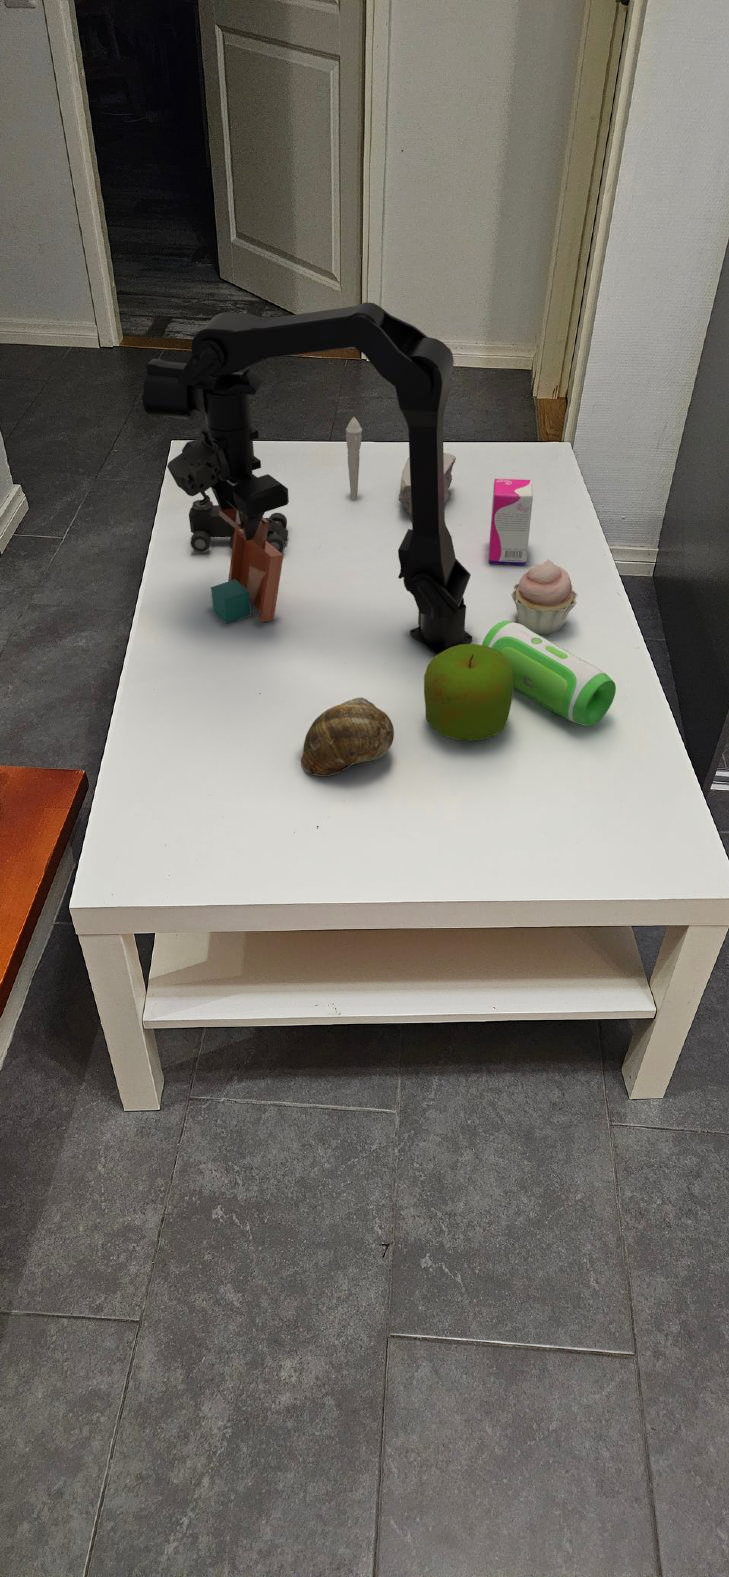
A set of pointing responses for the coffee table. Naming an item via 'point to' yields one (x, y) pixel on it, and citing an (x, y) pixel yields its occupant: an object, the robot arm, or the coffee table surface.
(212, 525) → the toy vehicle
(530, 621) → the cupcake
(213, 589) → the block
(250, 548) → the orange handled tray
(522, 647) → the speaker
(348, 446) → the grey pointed rod
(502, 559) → the supplement box
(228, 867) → the coffee table surface
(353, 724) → the seashell
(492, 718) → the apple
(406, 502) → the decorative stone
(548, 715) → the coffee table surface
